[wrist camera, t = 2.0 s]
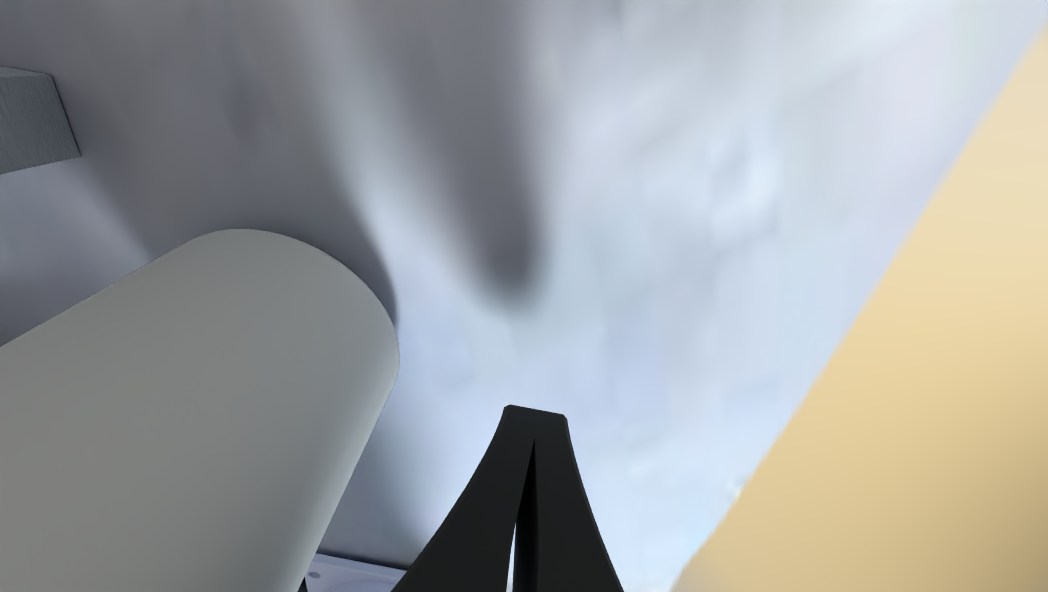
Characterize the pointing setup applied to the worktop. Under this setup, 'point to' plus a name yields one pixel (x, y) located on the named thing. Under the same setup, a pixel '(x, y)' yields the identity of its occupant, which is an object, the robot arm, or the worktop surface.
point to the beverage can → (190, 421)
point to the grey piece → (32, 122)
